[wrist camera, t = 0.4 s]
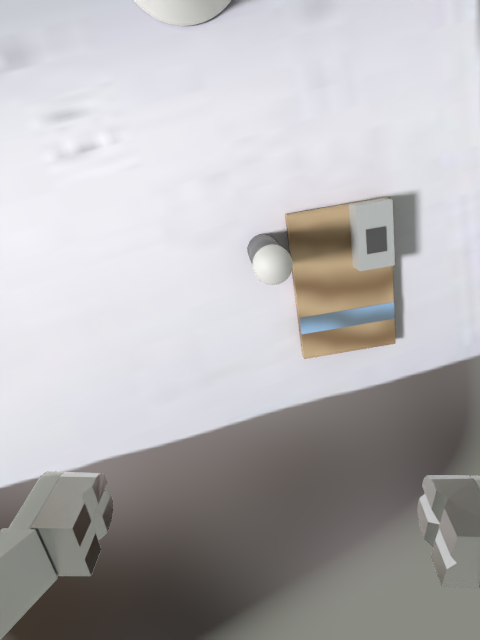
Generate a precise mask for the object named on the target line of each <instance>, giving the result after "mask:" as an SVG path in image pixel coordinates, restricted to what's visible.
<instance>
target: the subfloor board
mask: <svg viewBox="0 0 480 640" xmlns="http://www.w3.org/2000/svg"><path fill="white" fill-rule="evenodd" d="M383 198H385V199H390V197H381V198H376V199H370V200H364V201H358V202H353V203H347V204H341V205H335V206H330V207H324V208H318V209H312V210H306V211H301V212H295V213H289V214H285V217H286V226H287V234H288V242H289V250H290V256H291V258H292V263H293V267H292V274H293V282H294V290H295V299H296V307H297V315H298V323H299V331H300V339H301V347H302V355H303V357H304V359H307V358H313V357H319V356H325V355H331V354H337V353H343V352H349V351H354V350H360V349H366V348H372V347H378V346H384V345H390V344H395V310H394V292H393V266H388V267H382V268H376V269H370V270H365V271H359V270H357V269H356V268H354V267H353V259H352V245H351V231H350V217H349V204H354V203H359V202H365V201H371V200H377V199H383Z"/></svg>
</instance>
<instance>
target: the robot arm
mask: <svg viewBox="0 0 480 640" xmlns="http://www.w3.org/2000/svg"><path fill="white" fill-rule="evenodd" d="M133 1H134V2H135V3H136V4H137V5H138V6H139V7H140V8H141V9H143V10H144V11H145V12H146V13H148V14H149V15H150V16H152V17H154V18H156V19H158V20H160V21H162V22H165V23H168V24H172V25H178V26H189V25H196V24H199V23H203V22H205V21H207V20H209V19H211V18H213V17H215V16H216V15H217V14H219V13H220V12H221V11H222V10H223V9H224V8H225V7H226V6H227V5H228V4H229V3H230V2H231V0H133ZM106 485H107V480H106V477H105V474H102V473H80V472H78V473H77V472H46V473H44V474H43V475H42V476H41V477H40V478H39V480H38V482H37V483H36V485H35V486H34V488H33V490H32V491H31V493H30V495H29V496H28V498H27V499H26V501H25V503H24V504H23V506H22V508H21V509H20V511H19V512H18V514H17V516H16V517H15V519H14V520H13V522H12V524H11V525H10V527H9V528H8V529H2V530H0V639H2V638H3V636H4V635H5V634H6V633H7V632H8V631H9V630H10V629H11V628H12V627H13V626H14V625H15V624H16V622H17V621H18V620H19V619H20V618H21V617H22V616H23V615H24V614H25V613H26V612H27V611H28V609H30V607H31V606H32V605H33V604H34V603H35V602H36V601H37V600H38V599H39V598H40V597H41V596H42V595H43V593H44V592H45V591H46V590H47V589H48V588H49V587H50V586H51V585H52V584H53V582H55V580H56V579H57V576H91V575H92V572H93V570H94V567H95V564H96V561H97V559H98V556H99V554H100V551H101V547H100V544H99V540H100V539H101V538H102V537H103V536H104V535H105V534H106V533H107V532H108V529H109V527H110V524H111V521H112V514H113V500H112V496H111V494H110V493H109V492H108V491H106V490H105V487H106ZM422 487H423V489H424V492H425V494H424V495H423V496H422V497H420V498H419V502H418V520H419V524H420V529H421V532H422V534H423V537H424V539H425V540H426V541H427V542H428V543H429V544H430V545H431V546H432V547H433V551H432V555H431V559H432V562H433V565H434V567H435V570H436V573H437V575H438V578H439V580H440V583H441V586H442V587H458V588H476V589H477V588H478V589H480V476H467V475H446V476H445V475H438V476H437V475H432V476H431V475H427V476H426V477H425V478H424V480H423V484H422Z"/></svg>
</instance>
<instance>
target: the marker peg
mask: <svg viewBox="0 0 480 640" xmlns="http://www.w3.org/2000/svg"><path fill="white" fill-rule="evenodd" d="M248 255H249V257H250V260H251V263H252V265H253V270H254V273H255V275H256V277H257V278H258V279H259V280H260V281H261V282H263V283H265V284H268V285H277V284H280V283H282V282H284V281H285V280H286V279H287V278H288V277H289V275H290V274H291V271H292V267H293V263H292V258H291V256H290V254H289V253H288V252H287V251H286V250H285V249H284V248H283V247H281V246H280V245H279V244H278V243H277V242H276V241H275V240H274V238H272V237H271V236H269V235H266V234H260V235H257V236H255V237H254V238H252V239H251V241H250V242H249V245H248Z"/></svg>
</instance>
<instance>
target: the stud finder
mask: <svg viewBox="0 0 480 640" xmlns="http://www.w3.org/2000/svg"><path fill="white" fill-rule="evenodd" d="M349 217H350V231H351V245H352V259H353V267H354V268H356V269H357V270H359V271H365V270H370V269H376V268H382V267H388V266H394V265H395V251H394V224H393V199H385V198H383V199H377V200H371V201H365V202H359V203H354V204H349Z"/></svg>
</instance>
